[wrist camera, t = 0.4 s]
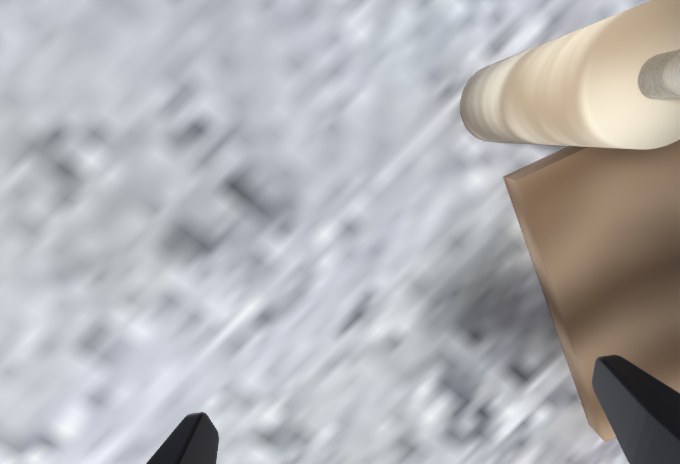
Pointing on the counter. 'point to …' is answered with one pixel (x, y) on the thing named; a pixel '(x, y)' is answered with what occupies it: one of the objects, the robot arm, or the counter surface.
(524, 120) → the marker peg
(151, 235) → the counter surface
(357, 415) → the counter surface
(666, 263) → the subfloor panel
